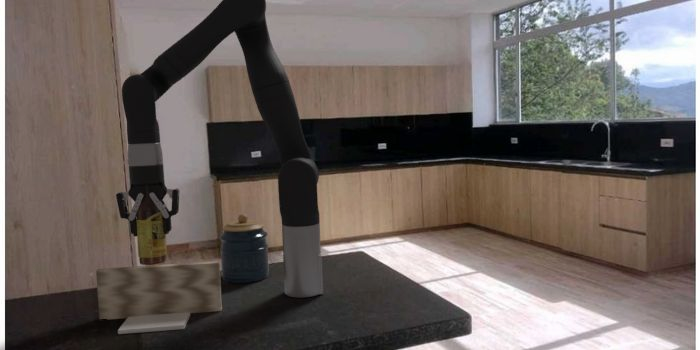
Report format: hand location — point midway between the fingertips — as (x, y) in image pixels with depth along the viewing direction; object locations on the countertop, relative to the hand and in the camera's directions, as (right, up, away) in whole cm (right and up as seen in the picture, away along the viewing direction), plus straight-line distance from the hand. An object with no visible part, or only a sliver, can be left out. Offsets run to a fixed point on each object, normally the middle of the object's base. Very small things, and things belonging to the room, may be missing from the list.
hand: (151, 234), depth 125 cm
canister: (+17, -15, +23) cm, 32 cm away
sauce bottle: (0, -7, +1) cm, 7 cm away
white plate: (+5, -18, -12) cm, 22 cm away
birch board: (+4, -17, -5) cm, 19 cm away
